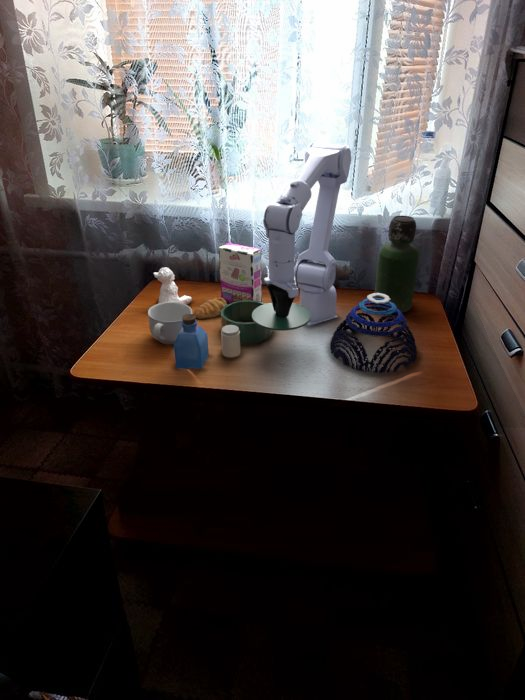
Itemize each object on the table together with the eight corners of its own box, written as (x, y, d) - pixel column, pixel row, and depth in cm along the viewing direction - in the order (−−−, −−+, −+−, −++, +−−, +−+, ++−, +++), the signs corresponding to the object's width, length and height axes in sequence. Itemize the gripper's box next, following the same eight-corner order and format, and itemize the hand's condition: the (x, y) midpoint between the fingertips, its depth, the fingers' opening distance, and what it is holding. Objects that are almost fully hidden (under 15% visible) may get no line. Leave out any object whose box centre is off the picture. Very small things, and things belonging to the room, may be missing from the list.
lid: (289, 301, 135) (290, 280, 132) (322, 323, 125) (323, 301, 122) (241, 314, 129) (240, 293, 126) (271, 338, 119) (271, 316, 116)
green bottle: (371, 297, 155) (381, 212, 143) (408, 298, 155) (421, 212, 142) (375, 314, 147) (385, 224, 134) (414, 315, 146) (427, 225, 133)
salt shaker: (235, 347, 132) (234, 322, 128) (243, 356, 128) (243, 330, 125) (219, 352, 130) (217, 327, 126) (227, 361, 127) (226, 335, 123)
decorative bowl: (313, 344, 133) (316, 291, 125) (376, 324, 141) (382, 273, 134) (366, 384, 118) (372, 326, 111) (432, 359, 127) (442, 303, 119)
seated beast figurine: (193, 301, 154) (189, 262, 148) (181, 315, 147) (178, 274, 141) (162, 298, 156) (157, 259, 150) (149, 311, 149) (144, 271, 143)
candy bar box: (262, 303, 153) (262, 248, 144) (253, 310, 149) (252, 254, 140) (230, 295, 158) (228, 241, 149) (220, 301, 154) (217, 246, 146)
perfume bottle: (201, 370, 123) (198, 324, 117) (175, 368, 124) (171, 322, 118) (208, 356, 128) (205, 311, 122) (184, 354, 129) (179, 309, 123)
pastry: (202, 323, 143) (201, 310, 141) (189, 315, 147) (187, 302, 145) (231, 313, 148) (230, 300, 146) (217, 305, 152) (216, 292, 150)
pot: (256, 316, 146) (256, 296, 143) (282, 336, 136) (282, 315, 133) (213, 328, 140) (212, 307, 137) (236, 350, 131) (236, 328, 128)
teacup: (167, 325, 142) (164, 297, 138) (202, 333, 138) (200, 305, 134) (134, 349, 131) (130, 320, 127) (171, 359, 127) (168, 330, 123)
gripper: (253, 250, 124) (254, 303, 131) (277, 273, 112) (276, 330, 119) (281, 246, 126) (281, 298, 133) (308, 268, 114) (305, 324, 121)
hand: (281, 313), depth 126 cm, fingers closed on lid, 2 cm apart
